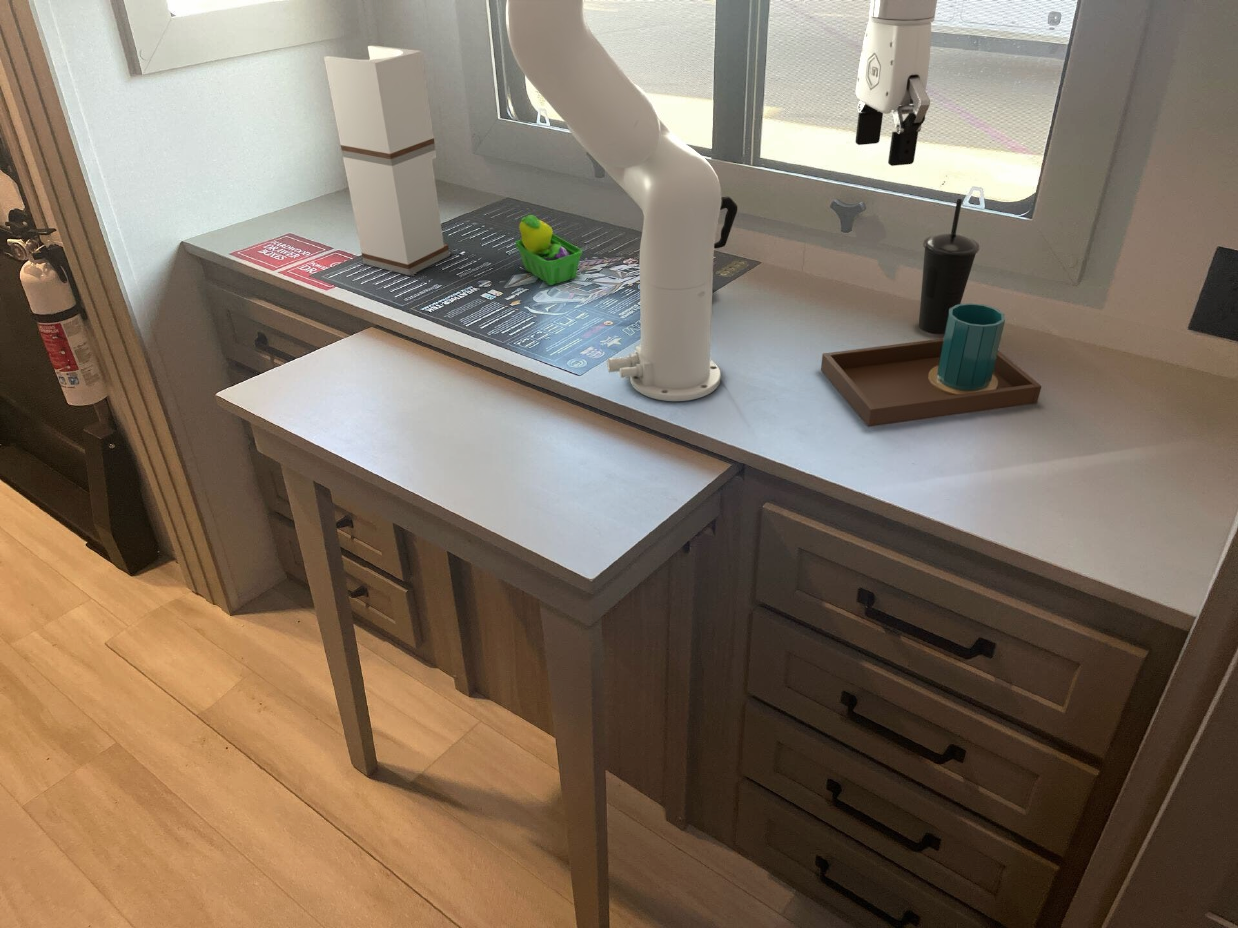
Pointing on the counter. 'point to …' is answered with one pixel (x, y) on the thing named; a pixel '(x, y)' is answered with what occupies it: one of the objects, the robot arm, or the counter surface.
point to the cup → (970, 346)
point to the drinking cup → (944, 275)
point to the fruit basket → (546, 252)
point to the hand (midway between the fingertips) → (883, 153)
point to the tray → (916, 384)
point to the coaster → (942, 387)
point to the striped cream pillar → (389, 156)
